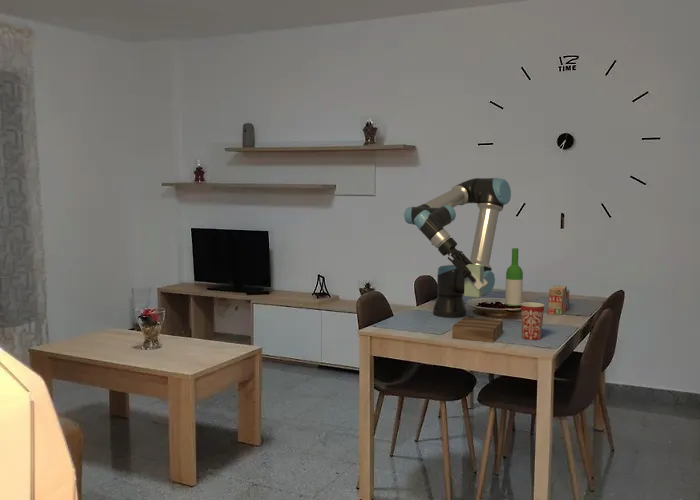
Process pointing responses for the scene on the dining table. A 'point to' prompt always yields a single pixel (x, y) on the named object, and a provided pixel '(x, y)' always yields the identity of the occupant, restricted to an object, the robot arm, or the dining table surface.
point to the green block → (469, 287)
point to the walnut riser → (477, 329)
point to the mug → (532, 320)
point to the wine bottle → (514, 282)
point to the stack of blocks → (558, 300)
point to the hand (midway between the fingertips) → (483, 286)
